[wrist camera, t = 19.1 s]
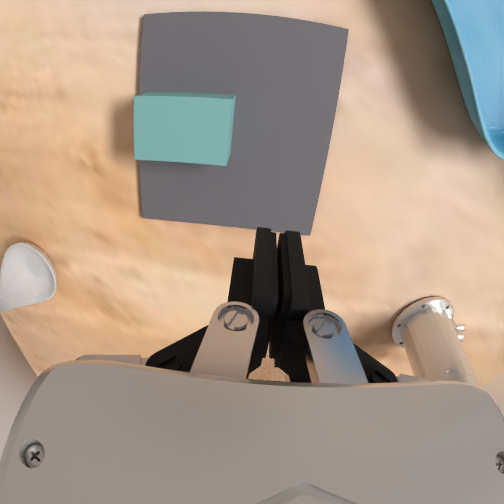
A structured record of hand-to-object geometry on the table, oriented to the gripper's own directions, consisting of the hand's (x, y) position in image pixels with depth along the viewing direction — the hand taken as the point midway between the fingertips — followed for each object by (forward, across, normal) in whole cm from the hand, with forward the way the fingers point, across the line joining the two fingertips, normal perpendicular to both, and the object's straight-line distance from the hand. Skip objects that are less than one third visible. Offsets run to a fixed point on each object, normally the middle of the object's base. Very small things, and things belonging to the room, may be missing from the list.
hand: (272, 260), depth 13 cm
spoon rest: (+26, +42, +28) cm, 56 cm away
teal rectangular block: (+22, +4, 0) cm, 23 cm away
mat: (+25, +4, 0) cm, 25 cm away
